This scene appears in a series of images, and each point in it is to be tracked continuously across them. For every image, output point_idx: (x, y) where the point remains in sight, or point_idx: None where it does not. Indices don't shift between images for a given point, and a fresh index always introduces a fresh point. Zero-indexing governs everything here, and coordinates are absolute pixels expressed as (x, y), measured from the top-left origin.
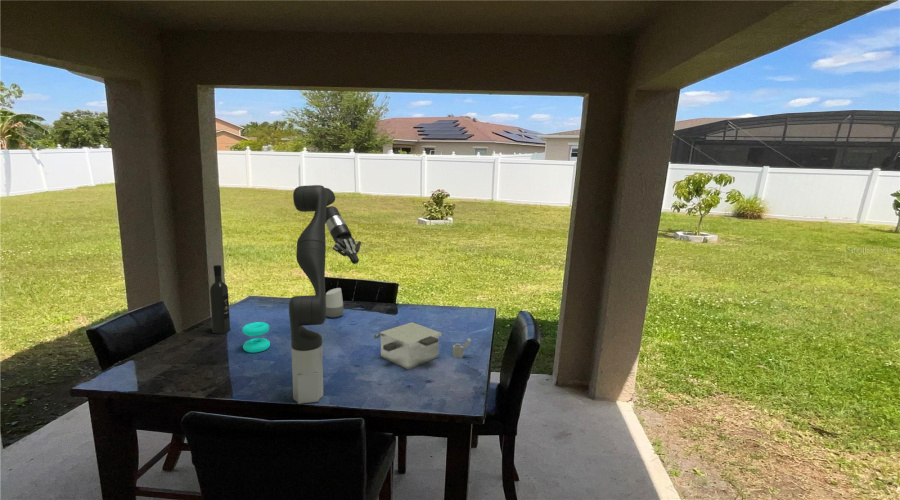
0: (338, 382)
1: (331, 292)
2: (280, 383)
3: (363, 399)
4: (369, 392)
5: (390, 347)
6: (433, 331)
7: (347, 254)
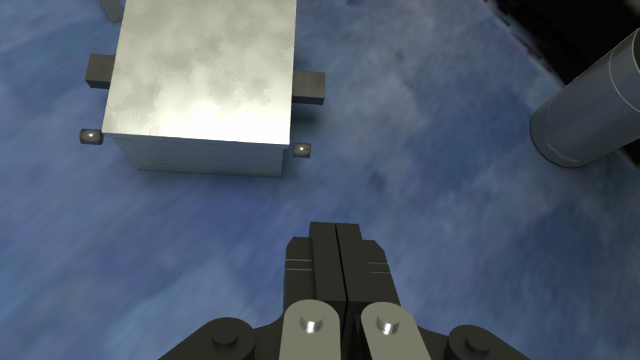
0: (474, 137)
1: None
2: (597, 246)
3: (471, 33)
4: (443, 45)
5: (316, 73)
6: (137, 6)
7: (439, 346)
